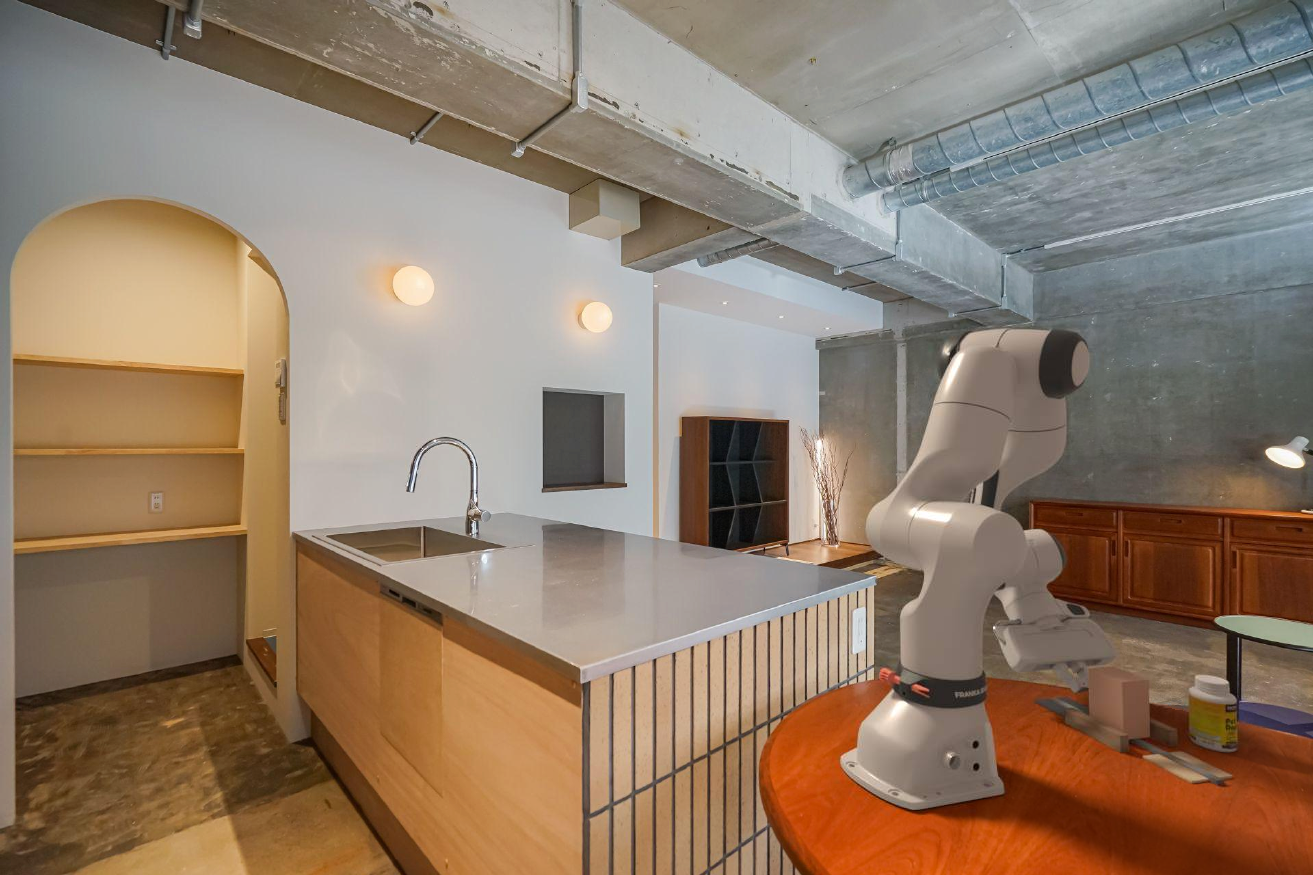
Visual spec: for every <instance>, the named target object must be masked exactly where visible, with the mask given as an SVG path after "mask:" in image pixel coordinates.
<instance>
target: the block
mask: <svg viewBox="0 0 1313 875" xmlns="http://www.w3.org/2000/svg"><path fill="white" fill-rule="evenodd" d="M1088 679H1089V691H1088V707H1089V716H1090V717H1092V718H1094V719H1097V720H1099V721H1101V722H1103V723H1105V724H1107V725H1109V726H1111V727H1113V728H1115V729H1117V730H1119V731H1121V732H1123V733H1125V734H1127V735H1129V739H1137V738H1139V739H1144V738H1150V718H1151V717H1150V713H1151V712H1150V684H1149V682H1150V680H1149V679H1148V678H1145V677H1143V676H1140V675H1138V674H1135V673H1132V672H1130V671H1126V670H1124V669H1122V668H1119V667H1116V666H1113V665H1112V666H1104V667H1103V666H1102V667H1092V668H1091V667H1089V668H1088Z"/></svg>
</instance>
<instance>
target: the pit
mask: <svg viewBox="0 0 1313 875" xmlns="http://www.w3.org/2000/svg"><path fill="white" fill-rule="evenodd" d="M1056 698H1057V699H1059V700H1061V701H1064V702H1066V703H1068V704H1070V705H1072V706H1074V707H1076V708H1078V709H1080V710H1082V711H1084V712H1086V713H1088V714H1089V706H1087V705H1084V703H1083V704H1082V703H1081V702H1079V701H1076V700H1075V699H1073V698H1071V697H1068V696H1061V697H1056ZM1033 702H1034V703H1036V704H1037V705H1039V706H1040V707H1041V706H1042V707H1044V708H1046V709H1048V710H1050V711H1051V712H1053V713H1055V714H1057V715H1059V716H1060V717H1063V718H1065V707H1063V706H1061V705H1059V704H1057V703H1055V702H1053V701H1051V700H1050V698H1040V699H1034V700H1033Z"/></svg>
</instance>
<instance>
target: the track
mask: <svg viewBox="0 0 1313 875" xmlns="http://www.w3.org/2000/svg"><path fill="white" fill-rule="evenodd" d="M1057 698H1058V697H1050V698H1049V699H1050V700H1051V701H1053V702H1055V703H1057V704H1059V705H1061V706H1063V707H1065V717H1064V721H1065V722H1064V724H1066V725H1067V726H1070V727H1071V728H1073V729H1075V730H1077V731H1079V732H1081V733H1082V734H1084V735H1086V736H1088V737H1090V738H1092V739H1094V740H1096V741H1098V742H1100V743H1101V744H1103V745H1106V746H1107V747H1109V748H1110V749H1113V750H1115V751H1117V752H1118V753H1121V754H1122V753H1129V752H1130V749H1129V748H1130V744H1129V743H1132V744H1134V745H1136V746H1138V747H1140V748H1141V749H1144V750H1146V751H1148V752H1150V753H1152V754H1153V755H1154V754H1160V755H1162V756H1164V757H1166V758H1168V759H1170V760H1172V761H1174V762H1176V763H1178V764H1180V765H1182V766H1184V767H1186V768H1188V769H1190V770H1192V771H1194V772H1196V773H1198V774H1200V775H1202V776H1204V777H1206V778H1208V779H1209V781H1208V782H1209V783H1212V784H1214V785H1216V786H1220V785H1222V786H1223V785H1225V779H1221V778H1219V777H1217V776H1215V775H1213V774H1211V773H1209V772H1207V771H1205V770H1203V769H1201V768H1199V767H1197V766H1195V765H1193V764H1191V763H1189V762H1187V761H1185V760H1182V759H1180V758H1178V757H1176V756H1174V755H1172V754H1170V753H1171V752H1168V751H1166V750H1164V749H1163V748H1160V747H1158V746H1156V745H1154V744H1151V743H1150V742H1148V741H1146V740H1143V739H1142V738H1137V739H1129V735H1127V734H1125V733H1123V732H1121V731H1119V730H1117V729H1115V728H1113V727H1111V726H1109V725H1107V724H1105V723H1103V722H1101V721H1099V720H1097V719H1094V718H1092V717H1090V716H1089V714H1088V713H1086V712H1084V711H1082V710H1080V709H1078V708H1076V707H1074V706H1072V705H1070V704H1068V703H1066V702H1064V701H1061V700H1059V699H1057ZM1149 738H1151V739H1153V740H1155V741H1156V740H1157V741H1156V742H1159V743H1161V744H1163V745H1165V746H1167V747H1170V748H1171V747H1177V746H1178V743H1179V742H1178V741H1179V740H1178V729H1177V728H1174V727H1172V726H1170V725H1167V724H1165V723H1164V722H1161V721H1159V720H1156V719H1154V718H1152V717H1150V737H1149Z"/></svg>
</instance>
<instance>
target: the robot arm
mask: <svg viewBox="0 0 1313 875" xmlns="http://www.w3.org/2000/svg"><path fill="white" fill-rule="evenodd" d="M1090 361H1091V358H1090V352H1089V345H1088V343H1087V341H1086V340H1085V338H1083V337H1082V335H1080V334H1079V333H1078V332H1076V331H1073V330H1067V329H1059V328H1054V329H1052V330H1046V329H1031V328H1030V329H1029V328H1025V329H1024V328H1019V329H1018V328H1015V329H1014V328H1011V327H1009V328H1006V327H1005V328H994V329H986V330H985V329H984V330H980V331H974V330H969V331H968V330H967V331H963V332H959V333H955V334H952V335H950V336H949V337H948V338H947V339H946V341H944V343H943V344H942V345H941V346H940V349H939V351H938V355H937V361H936V364H937V365H936V367H937V374H938V376H939V379H940V383H939V385H938V387H937V388H938V389H937V390H936V393H935V397H934V400H933V404H932V406H931V411H930V414H929V417H928V421H927V425H926V428H925V431H924V433H923V437H922V440H921V444H920V446H919V449H918V452H917V454H916V456H915V458H914V460H913V462H912V464H911V466H910V467H909V469H908V471H907V472H906V473H905V475H904V477H903V478H902V479H901V481H900V482H899V484H898V485H897V486H896V487H895V489H894V490H893V491H892V492H891V493H889V495H887V496H886V497H885V498H884V499H882V500H881V501H879V502H877V503H876V504H875V505H874V506H873V507H872V508H871V509H870V511H869V513H868V515H867V518H866V521H865V535H866V539H867V541H868V544H869V546H870V547H871V548H872V549H873V550H874V551H875V552H876V553H877V554H878V555H881V556H882V557H884V558H886V559H888V560H889V561H891V562H893V563H895V564H897V565H900V566H905V567H909V568H913V569H916V570H920V571H923V576H924V577H923V584H922V587H921V590H920V593H919V595H918V597H917V598H914V599H913V600H910V601H909V602H908V603H906V604H905V605H904V606H903V607H902V609H901V612H900V615H899V624H900V625H899V627H900V628H899V629H900V632H899V634H900V641H899V642H900V646H899V647H900V659H899V660H898V662H897V665H896V667H895V668H896V669H895V671H891V670H890V669H888V668H886V667H883V668H881V669H880V670H879V671H880V672H878V674H879V675H878V677H879V680H880V681H881V682H883V683H886V684H888V685H889V686H891V689H890V691H889V693H887V695H886V696H885V697H884V698H883V699H881V702H880V703H878V704H877V706H876V707H875V708H874V709H873V710H872V711H871V712H870V714H868V716H866V717H865V719H864V720H863V721H862V722H861V723H860V725H859V729H858V734H857V742H856V743H857V744H856V747H855V748H853V749H851V750H849V751H847V752H845V753H844V754H842V755H841V756H840V761H839V762H840V766H841V768H842V770H843V771H844V773H846V774H847V776H849V778H850V779H852V780H853V781H855V782H856V783H857V784H859V786H861V787H863V788H865V789H866V790H867V791H869V792H871V793H872V794H874V795H875V796H877V797H879V798H881V799H883V800H885V801H887V802H889V803H891V804H893V805H896V806H899V807H901V808H905V809H908V810H911V811H916V810H917V811H919V810H924V809H929V808H935V807H940V806H945V805H946V806H947V805H951V804H957V803H962V802H967V801H973V800H979V799H983V798H989V797H995V796H1001V795H1004V794H1005V786H1004V785H1005V784H1004V782H1003V780H1002V778H1000V777H999V772H998V767H997V757H996V749H995V742H994V741H995V740H994V735H993V728H992V724H991V722H990V720H989V716H988V714H987V710H986V707H985V701H986V700H987V697H988V695H987V693H988V692H987V690H988V682H987V674H986V672H985V670H984V669H983V635H984V634H983V632H984V630H983V629H984V620H985V615H986V612H987V608H988V606H989V604H990V601H991V599H992V598H993V596H995V597H996V598H998V599H999V601H1001V604H1002V606H1003V610H1004V612H1005V614H1006V616H1007V618H1008V620H998V621H996V623H995V624H994V625H993V629H992V630H993V633H994V635H995V636H996V638H997V640H998V643H999V646H1000V648H1001V651H1002V653H1003V655H1004V657H1005V659H1006V661H1007V664H1008V665H1009V667H1010V668H1011V669H1013V671H1015V672H1017V673H1028V672H1038V671H1051V670H1052V671H1053V673H1054V674H1055V676H1056V677H1058V678H1059V679H1061V680H1062V681H1063V682H1064V683H1065V684H1067V685H1068V686H1069V688H1070V689H1071V691H1072V692H1073V693H1075V694H1076V693H1083V692H1084V693H1086V692H1087V693H1089V678H1088V669H1089V668H1088V667H1097V666H1107V665H1109V664H1110V663H1111V662H1113V661H1114V660H1115V659H1117V656H1118V652H1117V649H1116V646H1115V645H1114V644H1113V642H1112V641H1111V640H1110V638H1109V637H1108V635H1107V634H1106V633H1105V631H1104V630H1103V629H1102V627H1100V626H1099V624H1098V623H1096V621H1094V620H1092V619H1091V618H1089V617H1090V616H1091V614H1090V611H1089V610H1088V608H1086V607H1085V606H1084V605H1080V604H1076V603H1072V602H1068V601H1065V600H1061V599H1059V598H1055V597H1054V596H1053V594H1052V593H1051V592H1050V591H1049V590H1048V588H1047V585H1048V584H1049V583H1052V582H1054V581H1055V580H1056V579H1057V578H1059V576H1061V574H1062V573H1063V572H1064V569H1065V567H1066V564H1067V560H1068V559H1067V554H1066V552H1065V550H1064V547H1063V546H1062V544H1061V543H1060V541H1059V540H1058V539H1057V538H1056V537H1055V536H1054V535H1053V534H1051V533H1050V532H1048V531H1046V530H1045V529H1042V528H1035V529H1027V530H1026V529H1025V530H1024V529H1023V526H1022V525H1021V524H1020V522H1019V521H1018V520H1017V519H1016V518H1015V517H1014V516H1012V515H1011V514H1009V513H1007V512H1004V511H1001V509H1002V506H1003V503H1004V500H1005V499H1006V498H1007V496H1008V495H1009V494H1010V493H1011V492H1012V491H1013V490H1015V489H1016V488H1017V487H1020V486H1021V485H1022V484H1023V483H1025V482H1027V481H1029V480H1030V479H1032V478H1035V477H1036V476H1038V475H1040V474H1042V473H1045V472H1047V470H1049V469H1050V468H1052V467H1053V465H1055V464H1056V463H1057V462H1058V461H1059V460H1060V459H1061V457H1062V455H1063V454H1064V450H1065V448H1066V443H1067V429H1068V428H1067V423H1068V422H1067V402H1066V397H1067V396H1069V395H1072V394H1074V393H1075V392H1076V391H1077V390H1079V389H1080V388H1081V387H1082V386H1083V384H1084V382H1085V381H1086V377H1087V376H1088V373H1089V371H1090V364H1091V362H1090ZM967 497H968V501H967V502H965V500H966V499H967ZM1069 669H1070V670H1071V672H1072V673H1073V674H1072V673H1071V672H1070V671H1069ZM1074 674H1076V676H1077V677H1076V676H1074Z"/></svg>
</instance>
